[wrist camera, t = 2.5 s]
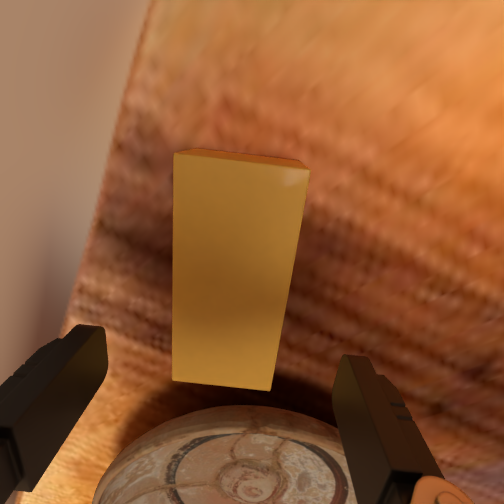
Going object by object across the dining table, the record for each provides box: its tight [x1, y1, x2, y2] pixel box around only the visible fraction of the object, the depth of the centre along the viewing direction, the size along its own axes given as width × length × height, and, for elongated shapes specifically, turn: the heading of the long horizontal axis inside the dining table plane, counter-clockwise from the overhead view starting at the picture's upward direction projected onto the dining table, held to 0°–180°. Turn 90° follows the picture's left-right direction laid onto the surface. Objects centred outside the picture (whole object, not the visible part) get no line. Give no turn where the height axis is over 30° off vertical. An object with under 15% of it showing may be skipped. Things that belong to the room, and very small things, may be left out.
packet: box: [172, 148, 311, 391], centre depth 16 cm, size 12×6×4 cm, turn 174°
